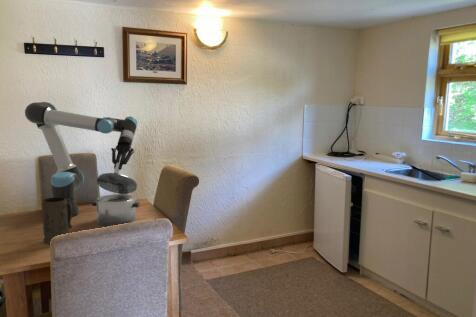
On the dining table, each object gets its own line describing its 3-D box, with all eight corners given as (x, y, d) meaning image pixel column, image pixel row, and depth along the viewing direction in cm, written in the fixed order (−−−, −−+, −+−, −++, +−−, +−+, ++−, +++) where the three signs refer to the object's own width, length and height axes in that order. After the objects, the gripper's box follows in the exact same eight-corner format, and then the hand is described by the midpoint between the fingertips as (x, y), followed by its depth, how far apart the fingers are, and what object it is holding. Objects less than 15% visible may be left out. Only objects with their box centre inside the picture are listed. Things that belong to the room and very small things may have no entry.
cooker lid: (90, 175, 201) (92, 169, 203) (104, 193, 219) (105, 187, 221) (130, 176, 200) (131, 170, 201) (140, 194, 217) (142, 188, 219)
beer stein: (58, 245, 173) (58, 201, 171) (37, 243, 175) (36, 200, 173) (79, 236, 188) (78, 195, 186) (59, 234, 190) (59, 194, 188)
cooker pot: (85, 225, 201) (84, 202, 199) (102, 213, 222) (102, 192, 220) (133, 226, 200) (132, 204, 198) (145, 214, 221) (145, 194, 219)
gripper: (138, 144, 224) (129, 178, 210) (116, 143, 225) (106, 177, 211) (135, 135, 218) (125, 170, 204) (112, 135, 219) (101, 169, 205)
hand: (115, 174), depth 207 cm, fingers closed
